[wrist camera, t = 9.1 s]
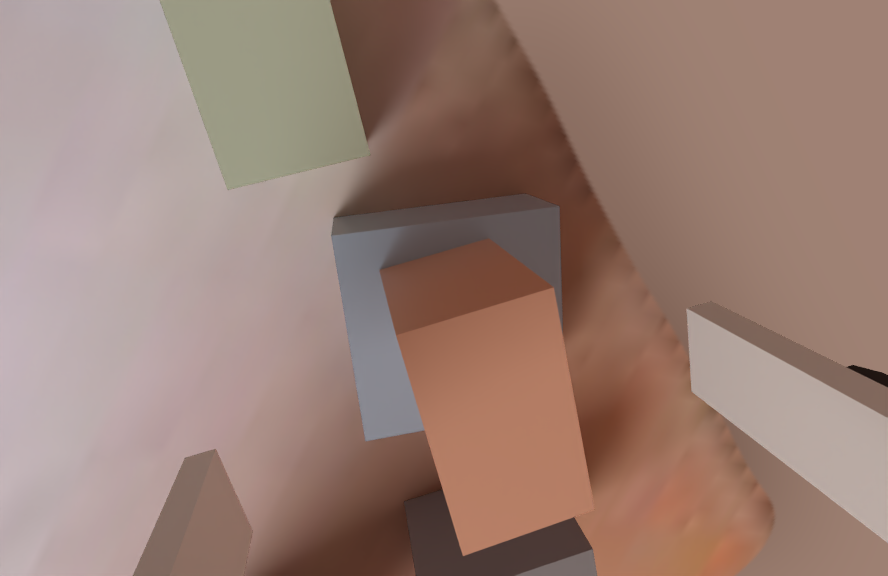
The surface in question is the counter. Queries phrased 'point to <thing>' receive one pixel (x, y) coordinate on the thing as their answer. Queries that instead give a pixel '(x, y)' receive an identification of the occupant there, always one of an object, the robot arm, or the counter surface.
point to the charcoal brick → (493, 547)
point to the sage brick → (268, 85)
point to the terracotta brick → (491, 390)
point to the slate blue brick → (412, 237)
